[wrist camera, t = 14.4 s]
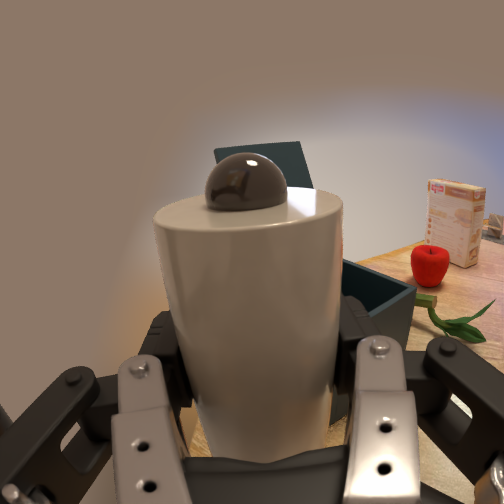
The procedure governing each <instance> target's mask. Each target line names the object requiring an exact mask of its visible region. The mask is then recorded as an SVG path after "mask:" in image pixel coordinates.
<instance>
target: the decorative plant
mask: <svg viewBox="0 0 504 504" xmlns="http://www.w3.org/2000/svg"><path fill="white" fill-rule="evenodd" d="M495 300H496V299H495ZM495 300H494V301H495ZM494 301H492V302H491V303H490V304H488V305H487V306H486V307H484V308H483V309H482V310H480V311H479V312H478V313H477V314H475V315H474V316H472V317H462V318H458V319H454V320H450V319H449V320H441V319H440V318H438V316H437V315H436V313H435V310H434V308H435V307H436V304H437V296H432V295H425V294H418V293H416V299H415V305H414V306H419V307H425V308H428V314H429V317H430V319H431V321H432V322H433V324H434V325H435V326H437V327H439V328H440V329H442V330H443V331H444V333H445V334H446V337H448V334H447V333H449V334H450V335H452V336H456V337H459V338H461V339H464V340H467V341H471V342H484V341H486V339H485V338H484V336H483V335H482V333H481V332H480V331H479V330H478V329H477V328H475V327H473V326H471V325H468V324H466V323H468V322H470V321H471V320H473V319H475V318H477V317H479V316H481V315H482V314H483V313H484V312H485V311H486V310H487V309H488V308H489V307H490V306H491V304H492V303H493V302H494ZM445 331H446V332H447V333H446V332H445Z"/></svg>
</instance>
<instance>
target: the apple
mask: <svg viewBox="0 0 504 504" xmlns="http://www.w3.org/2000/svg"><path fill="white" fill-rule="evenodd" d="M449 259H450V256H449V252H448V251H447V250H446V249H444V248H442V247H438V246H432V245H420V246H417V247H415V248H414V249H413V251H412V254H411V267H412V272H413V276H414V278H415V280H416V281H417V282H418V284H420V285H422V286H424V287H433V286H436V285H438V284H439V283H440V282H441V281H442V279H443V278H444V275H445V273H446V271H447V269H448V266H449Z"/></svg>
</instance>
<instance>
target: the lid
mask: <svg viewBox="0 0 504 504" xmlns="http://www.w3.org/2000/svg"><path fill="white" fill-rule="evenodd" d="M237 153H255V154H259V155H261V156H264V157H266V158H268V159H269V160H271V161H272V162H273V163H274V164H275V165H276V166H277V167H278V168H279V169H280V171H281V172H282V174H283V176H284V178H285V180H286V184H287V187H299V188H309V189H314V188H313V185H312V181H311V178H310V174H309V171H308V167H307V164H306V161H305V158H304V154H303V151H302V148H301V144H300V142H299V141H296V142H280V143H267V144H255V145H245V146H234V147H227V148H217V149H215V150H214V154H215V159H216V162H217V164H218V163H219V162H221V161H222V160H223V159H225V158H227V157H229V156H231V155H234V154H237Z"/></svg>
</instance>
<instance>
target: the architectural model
mask: <svg viewBox="0 0 504 504" xmlns="http://www.w3.org/2000/svg"><path fill="white" fill-rule="evenodd" d="M503 218H504V217H503V216H500V215H496V214H492V213H490V216H489V223H488V224H487V223H485V224H484V225H483V226H485V227H488V231H487V230H483V229H482V235H481V238H482V239H485V240H489V241H492V242H496V243H499V244H503V245H504V235H502V230H503Z"/></svg>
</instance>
